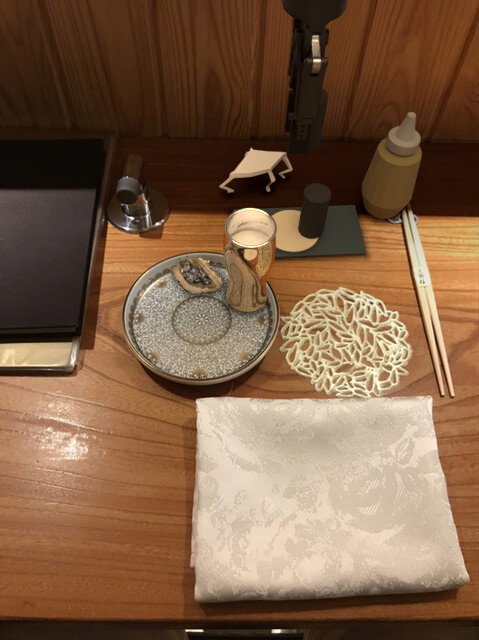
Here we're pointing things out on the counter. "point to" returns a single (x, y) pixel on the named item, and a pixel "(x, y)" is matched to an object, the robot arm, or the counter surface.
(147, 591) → the counter surface
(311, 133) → the black post
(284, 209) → the board
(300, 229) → the black cylinder
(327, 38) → the robot arm
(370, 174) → the squeeze bottle
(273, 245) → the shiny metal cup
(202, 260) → the pouch of beans
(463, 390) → the counter surface
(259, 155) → the origami figure
